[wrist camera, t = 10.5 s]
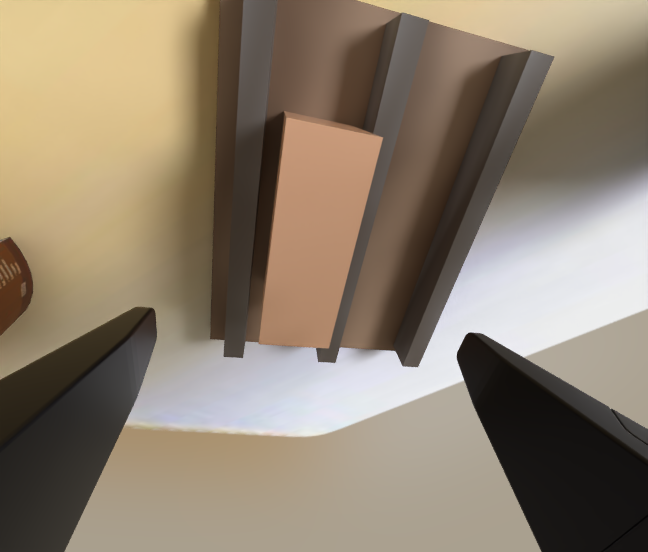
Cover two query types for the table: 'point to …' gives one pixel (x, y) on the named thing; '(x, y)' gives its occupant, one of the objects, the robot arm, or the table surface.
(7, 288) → the food container
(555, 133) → the table surface
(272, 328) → the terracotta strip
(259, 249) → the ribbed brown panel
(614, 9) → the table surface
